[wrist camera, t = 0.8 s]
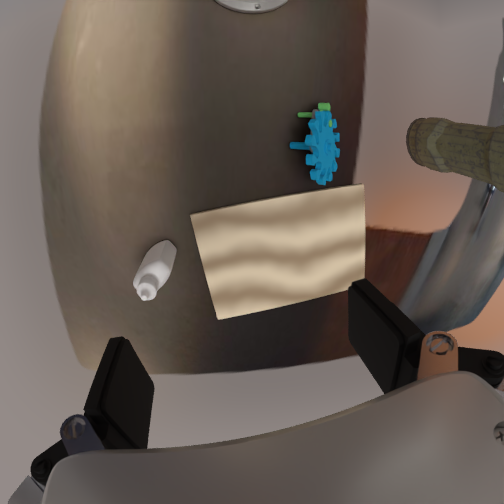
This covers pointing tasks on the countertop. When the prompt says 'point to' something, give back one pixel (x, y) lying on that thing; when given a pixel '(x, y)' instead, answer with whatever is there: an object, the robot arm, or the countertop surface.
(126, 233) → the countertop surface
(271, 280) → the beige flat sheet
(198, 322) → the countertop surface
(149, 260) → the eye dropper bottle
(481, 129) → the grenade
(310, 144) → the gear
